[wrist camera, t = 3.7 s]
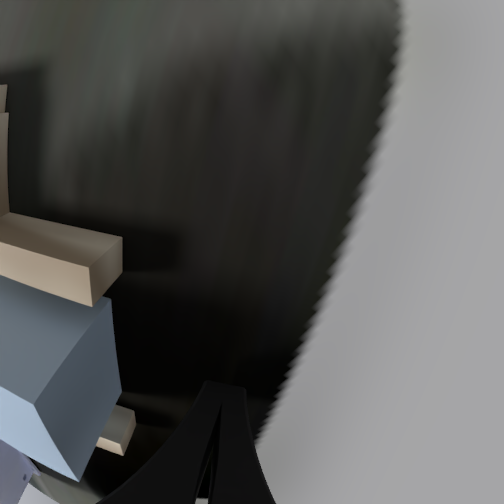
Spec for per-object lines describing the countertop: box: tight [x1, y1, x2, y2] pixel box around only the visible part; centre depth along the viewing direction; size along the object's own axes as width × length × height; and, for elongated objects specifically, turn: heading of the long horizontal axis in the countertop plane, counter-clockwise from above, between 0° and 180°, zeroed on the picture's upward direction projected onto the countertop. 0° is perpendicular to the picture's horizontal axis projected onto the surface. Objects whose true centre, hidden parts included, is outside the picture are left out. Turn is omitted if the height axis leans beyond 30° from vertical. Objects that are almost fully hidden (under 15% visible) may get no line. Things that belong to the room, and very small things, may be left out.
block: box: [0, 275, 122, 482], centre depth 9 cm, size 5×5×5 cm
